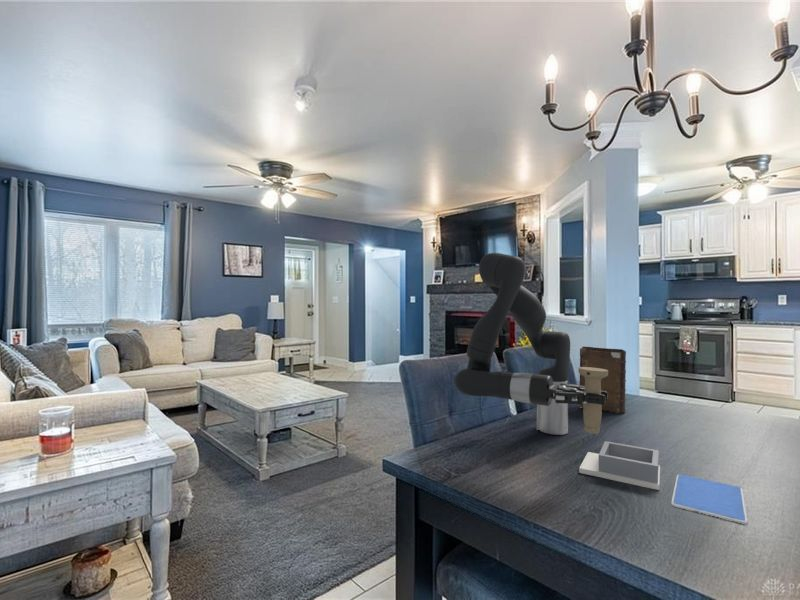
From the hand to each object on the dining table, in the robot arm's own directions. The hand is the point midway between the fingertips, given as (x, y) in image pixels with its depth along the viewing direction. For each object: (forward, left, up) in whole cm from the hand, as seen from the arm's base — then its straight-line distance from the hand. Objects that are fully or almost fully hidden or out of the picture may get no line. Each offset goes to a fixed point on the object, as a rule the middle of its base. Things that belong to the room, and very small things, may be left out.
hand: (605, 398), depth 96 cm
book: (-10, +77, -21) cm, 80 cm away
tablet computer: (+20, +7, -21) cm, 30 cm away
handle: (-3, 0, -9) cm, 9 cm away
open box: (+2, +12, -21) cm, 24 cm away
